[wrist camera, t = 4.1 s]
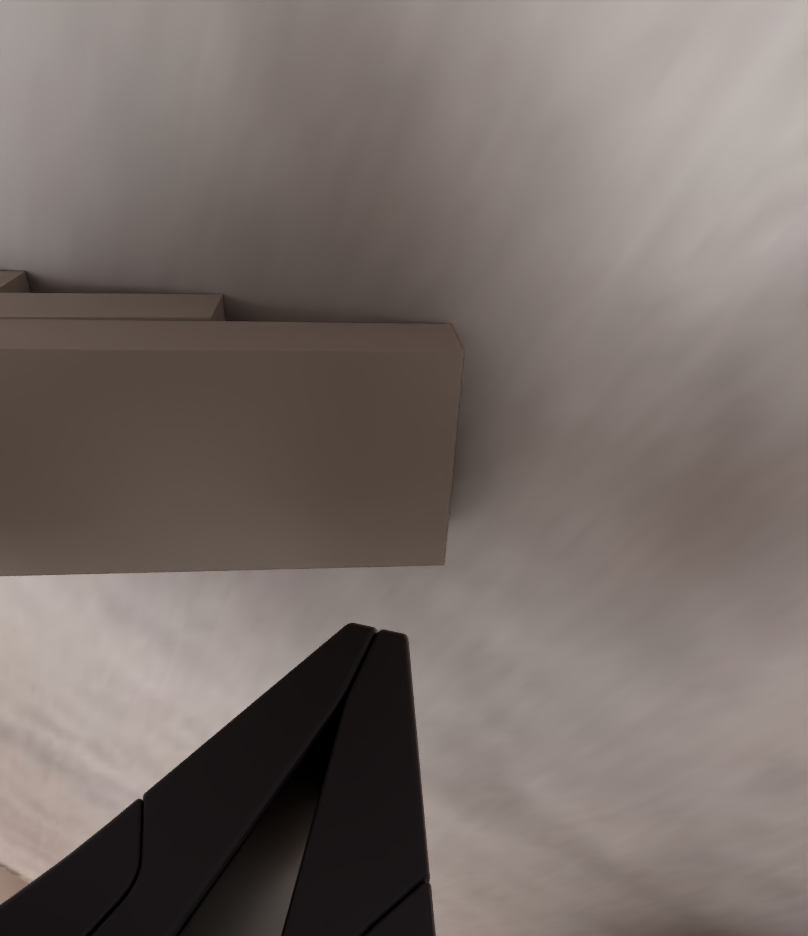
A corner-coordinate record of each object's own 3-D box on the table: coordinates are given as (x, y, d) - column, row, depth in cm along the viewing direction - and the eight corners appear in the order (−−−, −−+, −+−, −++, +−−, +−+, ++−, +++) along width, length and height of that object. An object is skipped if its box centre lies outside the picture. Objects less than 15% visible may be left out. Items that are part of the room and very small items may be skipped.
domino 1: (464, 352, 12) (-125, 347, 11) (444, 565, 14) (-31, 577, 13) (451, 323, 13) (-72, 317, 12) (435, 522, 16) (3, 530, 15)
